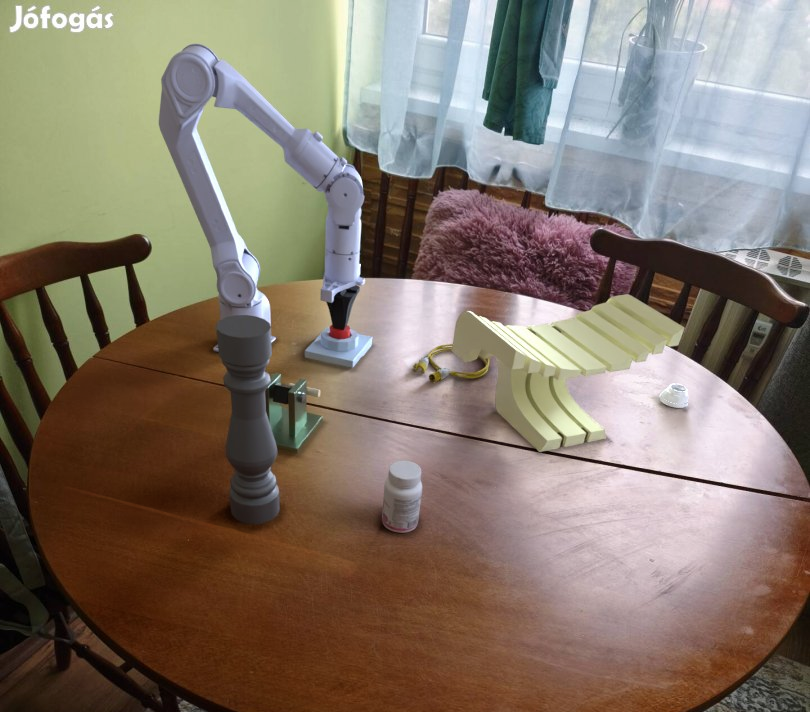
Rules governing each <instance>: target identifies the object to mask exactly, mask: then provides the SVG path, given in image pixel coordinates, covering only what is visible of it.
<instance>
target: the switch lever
mask: <svg viewBox="0 0 810 712" xmlns="http://www.w3.org/2000/svg"><path fill="white" fill-rule="evenodd" d="M295 384H296V383H291V382H289V383H288V384H287V383H281V384H277V385H275V389H274V396H273V402H278V403H281V405H287V406H288V405H289V402H288V392H289V391H290V389H291V388H292V387H293V386H294V385H295ZM306 396H310V397H314V398H320V396H321V389H318V388H314V387H310V386H306Z"/></svg>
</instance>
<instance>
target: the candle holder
mask: <svg viewBox="0 0 810 712" xmlns="http://www.w3.org/2000/svg"><path fill="white" fill-rule="evenodd" d="M271 326H272V325H271ZM271 326H270V323H269V322H267V321H266V320H265V319H262V318H259V317H256V316H250V315H235V316H230V317H226V318H223V319H219V320H218V321H217V322H216V324H215V329H216V338H217V339H216V341H217V345H218V351H219V352H218V357H219V358H220V359H221V364H222V365H223V366H224V368H225V369H226V371H227V372H225V374H224V375H223V377H222V382H223V385H224V387H225V388H226V389H227V391H229V393H230V402H231V403H230V404H231V415H230V418H229V419H230V420H229V425H228V431H227V436H226V442H225V448H224V449H225V457H226V459H227V462H228V463H229V464H230V466H231V467H233V469H234V473H233V474H232V476H231V478H230V479H229V483H230V488H229V489H228V494H229V506H230V513H231V516H232V517H233V518H234V519H235V520H237V521H239V522H241V523H243V524H248V525H249V524H250V525H260V524H261V525H262V524H265V523H267V522H270V521H272V520H273V519H274V518H276V517H277V516H278V514H279V512H280V509H281V508H280V507H281V506H280V490H279V486H278V481H277V478H276V477H277V476H276V475H275V474H274V473H273V472H272V471H271V470H272V466H273V465H274V463H275V461H276V460H277V457H278V448H277V446H276V442H275V439H274V436H273V433H272V430H271V426H270V423H269V420H268V416H267V413H266V402H265V390H266V389H267V388H268V387H269V385H270V383H271V379H270V377H271V375H270V374H269V373H268V372H266V369H267V368H268V367H267V366H268V365H269V364H270V359H271V358H272V356H273V352H272V349H273V348H272V347H273V345H272V343H271V336H272V327H271Z"/></svg>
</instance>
